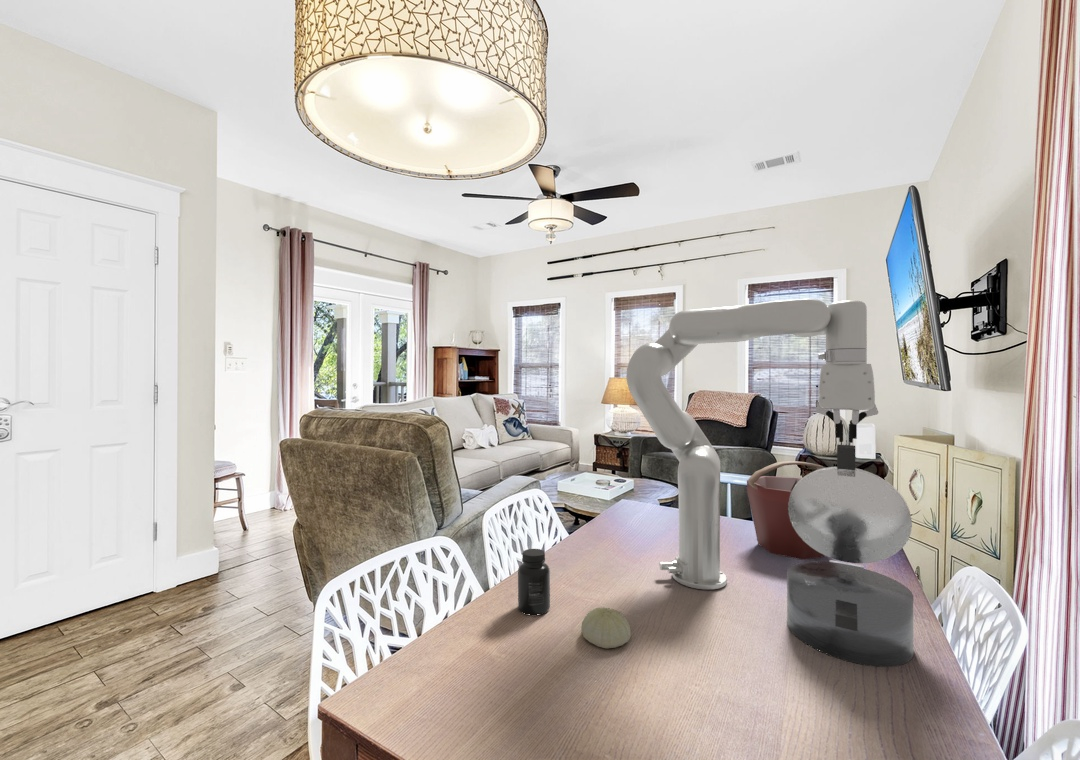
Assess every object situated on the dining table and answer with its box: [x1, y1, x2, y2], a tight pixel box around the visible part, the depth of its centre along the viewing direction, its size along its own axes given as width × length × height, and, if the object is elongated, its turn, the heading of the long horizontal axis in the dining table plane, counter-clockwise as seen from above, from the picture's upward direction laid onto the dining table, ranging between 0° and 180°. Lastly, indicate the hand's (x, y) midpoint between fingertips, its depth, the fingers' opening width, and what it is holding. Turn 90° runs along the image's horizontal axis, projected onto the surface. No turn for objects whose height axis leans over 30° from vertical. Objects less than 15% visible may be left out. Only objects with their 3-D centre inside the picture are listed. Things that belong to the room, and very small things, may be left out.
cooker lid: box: [788, 444, 913, 564], centre depth 95 cm, size 26×21×2 cm
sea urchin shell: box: [580, 607, 632, 649], centre depth 88 cm, size 9×8×8 cm
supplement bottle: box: [517, 548, 551, 616], centre depth 99 cm, size 7×7×12 cm
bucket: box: [746, 460, 827, 560], centre depth 134 cm, size 24×22×25 cm
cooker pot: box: [786, 559, 914, 668], centre depth 87 cm, size 27×20×10 cm
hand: (846, 441), depth 102 cm, fingers closed
